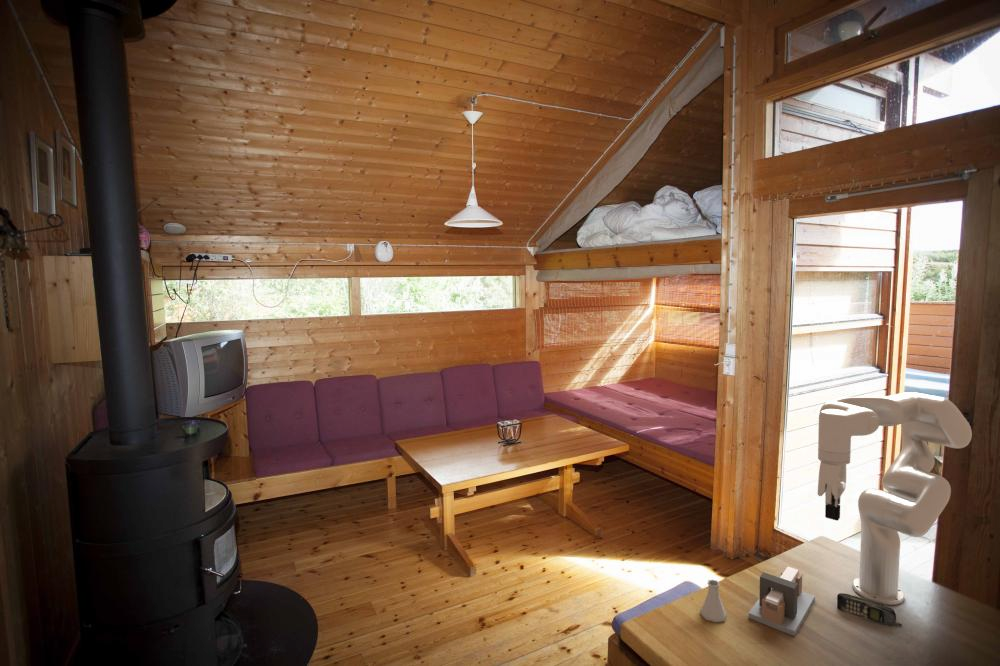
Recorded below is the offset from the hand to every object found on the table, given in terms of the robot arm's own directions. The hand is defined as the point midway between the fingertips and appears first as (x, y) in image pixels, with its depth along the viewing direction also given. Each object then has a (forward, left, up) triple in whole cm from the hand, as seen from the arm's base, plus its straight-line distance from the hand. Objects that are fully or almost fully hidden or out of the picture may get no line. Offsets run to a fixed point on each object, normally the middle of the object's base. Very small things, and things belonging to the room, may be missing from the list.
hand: (832, 517), depth 149 cm
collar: (+10, -11, -27) cm, 31 cm away
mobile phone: (-5, +8, -29) cm, 31 cm away
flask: (+21, -25, -29) cm, 44 cm away
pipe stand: (+6, -11, -29) cm, 31 cm away
